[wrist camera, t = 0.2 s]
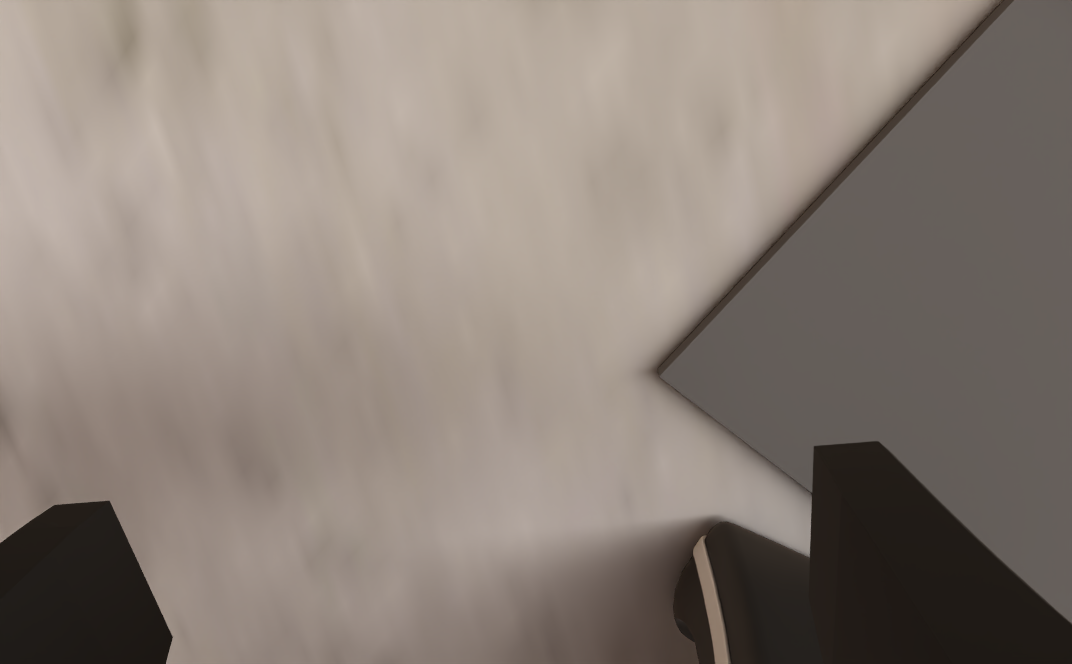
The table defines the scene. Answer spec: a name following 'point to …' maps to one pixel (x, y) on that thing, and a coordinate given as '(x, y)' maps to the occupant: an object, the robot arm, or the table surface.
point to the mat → (929, 303)
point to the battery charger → (746, 601)
